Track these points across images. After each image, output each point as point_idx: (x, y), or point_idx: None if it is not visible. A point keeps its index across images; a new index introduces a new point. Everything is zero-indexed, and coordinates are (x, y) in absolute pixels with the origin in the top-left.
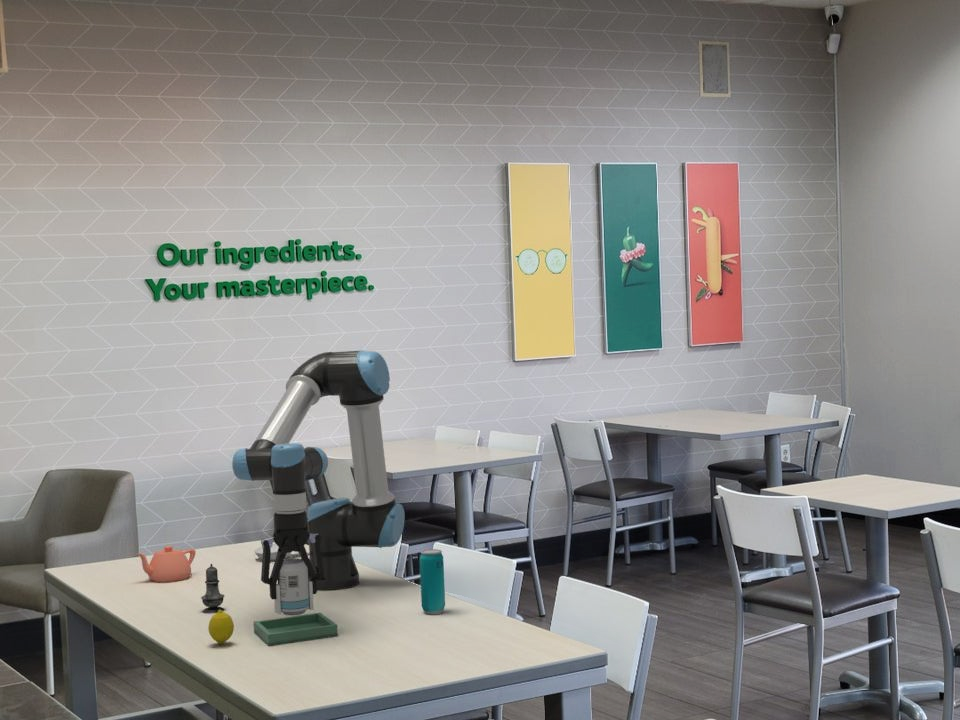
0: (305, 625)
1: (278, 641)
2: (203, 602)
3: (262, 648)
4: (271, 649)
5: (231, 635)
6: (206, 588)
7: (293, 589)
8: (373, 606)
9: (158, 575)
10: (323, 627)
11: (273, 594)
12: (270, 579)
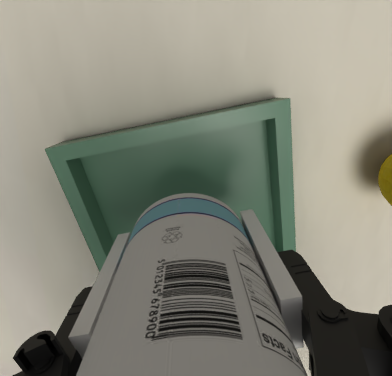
0: None
1: (246, 104)
2: None
3: (297, 74)
4: (273, 48)
5: (383, 165)
6: None
7: (194, 250)
8: (8, 369)
9: None
10: (93, 138)
11: (295, 267)
12: (366, 346)
